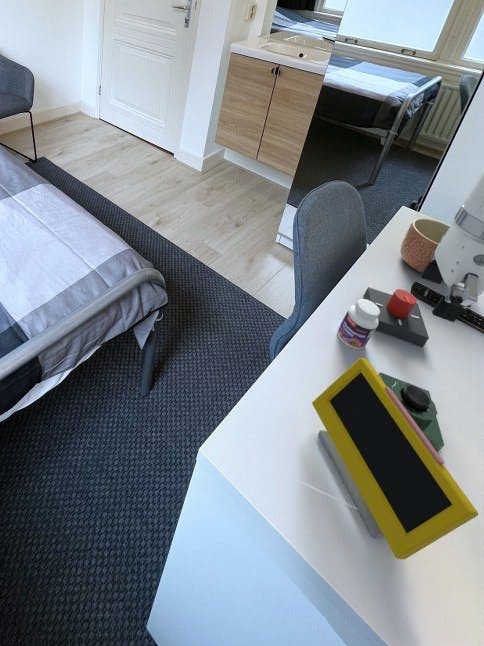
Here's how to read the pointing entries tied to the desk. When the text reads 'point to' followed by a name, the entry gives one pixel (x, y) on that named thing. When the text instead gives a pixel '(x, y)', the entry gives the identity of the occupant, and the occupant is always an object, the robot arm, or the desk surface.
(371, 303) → the pill bottle
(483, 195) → the robot arm
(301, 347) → the desk surface
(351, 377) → the yellow framed monitor
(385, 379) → the vent housing
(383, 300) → the handle block
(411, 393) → the vent button
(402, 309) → the dial
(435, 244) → the planter
